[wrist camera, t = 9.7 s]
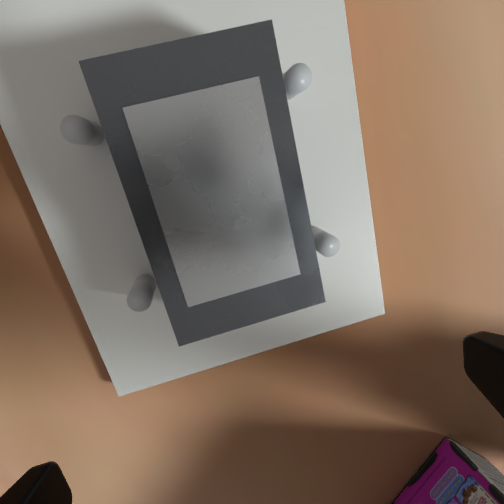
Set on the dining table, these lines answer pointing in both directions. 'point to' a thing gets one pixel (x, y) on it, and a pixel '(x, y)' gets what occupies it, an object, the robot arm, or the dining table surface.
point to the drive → (211, 176)
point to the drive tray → (112, 193)
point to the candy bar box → (454, 479)
